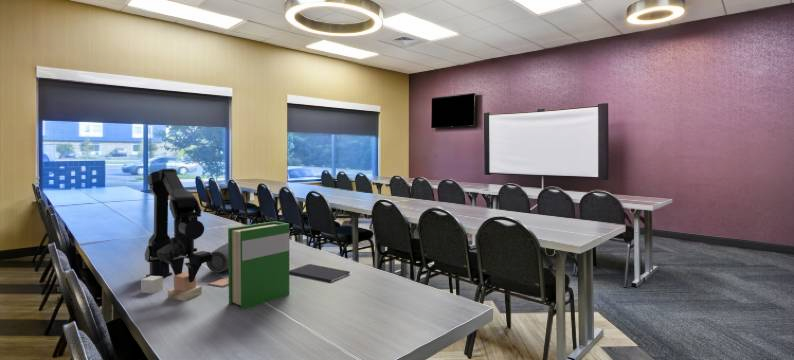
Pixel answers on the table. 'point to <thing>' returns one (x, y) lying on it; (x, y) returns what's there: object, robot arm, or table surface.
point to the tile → (220, 283)
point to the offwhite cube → (151, 284)
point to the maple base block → (184, 293)
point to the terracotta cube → (183, 282)
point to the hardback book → (258, 263)
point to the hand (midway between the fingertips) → (184, 280)
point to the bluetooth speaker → (219, 259)
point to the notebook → (319, 273)
